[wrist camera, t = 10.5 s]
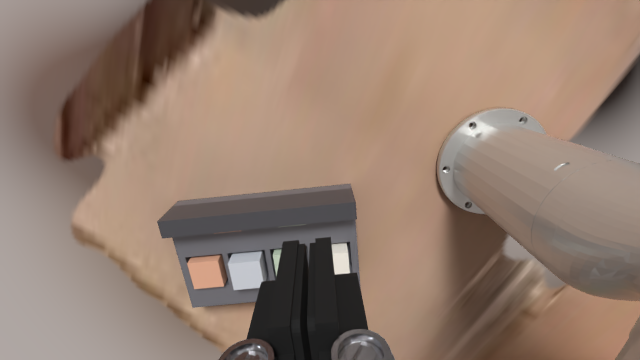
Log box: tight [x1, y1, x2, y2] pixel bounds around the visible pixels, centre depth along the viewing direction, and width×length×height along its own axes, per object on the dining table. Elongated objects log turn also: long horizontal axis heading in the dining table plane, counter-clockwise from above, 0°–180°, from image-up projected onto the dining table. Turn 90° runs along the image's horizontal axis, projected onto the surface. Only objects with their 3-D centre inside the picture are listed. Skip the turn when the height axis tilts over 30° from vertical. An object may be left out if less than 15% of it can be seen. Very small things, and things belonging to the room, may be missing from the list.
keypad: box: [157, 184, 361, 308], centre depth 39 cm, size 21×13×6 cm, turn 96°
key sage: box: [273, 248, 282, 276], centre depth 39 cm, size 4×4×2 cm
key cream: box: [331, 242, 350, 274], centre depth 38 cm, size 4×4×2 cm
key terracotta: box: [187, 254, 228, 289], centre depth 39 cm, size 4×4×2 cm
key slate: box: [228, 250, 267, 290], centre depth 39 cm, size 4×4×2 cm
